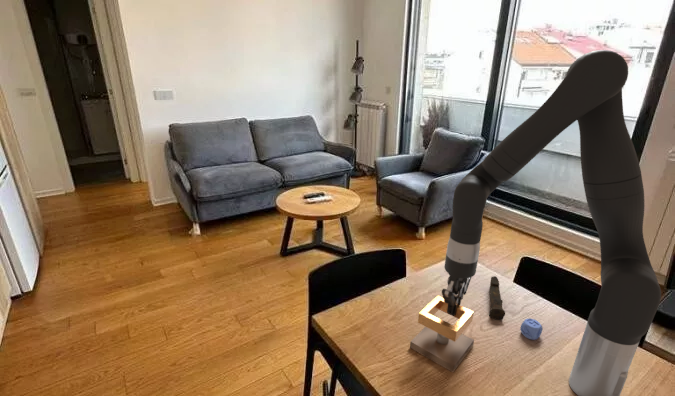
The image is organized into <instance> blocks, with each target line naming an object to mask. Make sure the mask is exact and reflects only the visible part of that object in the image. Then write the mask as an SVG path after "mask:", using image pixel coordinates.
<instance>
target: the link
mask: <svg viewBox="0 0 675 396" xmlns="http://www.w3.org/2000/svg"><path fill="white" fill-rule="evenodd" d="M447 308H448V304H447V303H445V302H444V299H443V296H440V295H437V296H436V297H435V298H433V299H432V300H431V301H430V302H429V303H427V305H426V306H424V308H423V309H421V311H420V312H419V313H418V317H417V318H418V319H417V323H418V324H420V325H422V326H424V327H427V328H429V329H431V330H433V331H435V332H437V333H439V334H441V335H443V336H445V337H446V338H448V339H450V340H452V341H454V342H455V341H456V340H457V339H458V338H459V336H460V335H461V334H463V333H464V332H465V330H466V329H468V327H469V326H470V325H471V324H472V322H473V320H474V313H475V311H474V310H471V309H469V308H466V307H464V306H462V305H461V304H460V305H457V310H456V315H455V316H452V315H450V314H448V313H447ZM439 311H441V312H444V313H445V314H448V315H450V316H451V317H453V318H456V319H458V320H457V321H456V322H455V323H454V324H451V323H450V322H448V321H445V320H443V319H441V318H439V317H436V316H435V314H436V313H437V312H439ZM447 322H448V323H447Z"/></svg>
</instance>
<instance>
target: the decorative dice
mask: <svg viewBox="0 0 675 396" xmlns="http://www.w3.org/2000/svg"><path fill="white" fill-rule="evenodd" d="M520 332H521V334H522V335H523V337H525V338H527V339H528V340H531V341H532V340H538V339H539V338H540V336H541V335H542V332H543V326H542V324H541V323H540V322H539V321H538V320H536V319H535V318H525V319H524V320H523V321H522V323H521V325H520Z"/></svg>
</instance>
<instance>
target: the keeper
mask: <svg viewBox="0 0 675 396" xmlns="http://www.w3.org/2000/svg"><path fill="white" fill-rule="evenodd" d="M446 322H447V323H449V321H446ZM474 342H475V339H474V338H472V337H470V336H467V335H466V334H463V333H462V334H461V335H460V336H459V338H458V339H457V340H456V341H455V342H454V341H452V340H450V339H448V338H446V337H445V336H443V335H441V334H439V333H437V332H435V331H433V330H431V329H429V328H427V327H425V326H424V328H422V329H421V330H420V331H419V332H418V333H417V334H416V335H415V336H414V337H413V338H412V339H411V340H410V342H409V343H410V344H409V349H411V350H413V351H415V352H417V353H419V354H421V355H422V356H423V357H426V358H427V359H428V360H430V361H432V362H434V363H436V364H437V365H439V366H441V367H443V368H444V369H446V370H448V371H449V372H452V373H454V372H455V371H456V369H457V368H458V366H459V365H460V364H461V363H462V361H463V360H464V359H465V358H466V356H467V354H469V352H470V351H471V349H472V348H473V347H474Z"/></svg>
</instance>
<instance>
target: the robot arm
mask: <svg viewBox="0 0 675 396" xmlns="http://www.w3.org/2000/svg"><path fill="white" fill-rule="evenodd" d="M628 76H629V66H628V63H627V61H626V59H625V58H624V57H623V56H622V55H621V54H620V53H617V52H615V51H613V50H608V49H607V50H606V49H598V50H592V51H589V52H587V53H584V54H583V55H581V56H579V57H578V58H577V59H576V60H574V62H572V64H570V66H569V68H568V69H567V71H566V74H565V77H564V78H563V79H562V80H561V82H560V83H559V85H558V86H557V87H556V88H555V90H554V91H553V92H552V94H551V95H550V96H549V97H548V99H547V100H545V102H543V104H542V105H541V106H540V107H538V109H537V110H536V111H534V113H533V114H531V115H530V116H529V117H528V118H527V119H525V120H524V121H523V122H522V123H521V124H519V125H518V126H517V127H516V128H515V129H514V130H513V131H512V132H510V133H509V134H508V135H507V136H506V137H505V138H503V139H502V140H501V141H500V142H499V143H498V144H497V145H496V146H495V147H494V148H493V149H492V150H491V151H490V152H489V153H488V154H487V155H486V156H485V158H484V159H483V160H482V161H481V162H480V163H479V164H477V165H475V167H474V168H472V169H471V170H470V171H469V172H468V173H467V174H466V175H465V176H463V177H462V179H461V180H460V181H459V183H458V184H457V185H456V187H455V189H454V191H453V199H452V220H451V226H450V233H449V239H448V240H447V241H448V242H447V246H446V254H445V258H444V259H445V261H444V270H445V272H447V274H448V275H449V276H448V277H447V287H446V288H442V289H441V295H442V297H443V299H444V302H445V303H447V304H448V308H447V313H448V315H449V314H450V316H451V315H452V316H451V317H454V316H455V315H456V310H457V305H460V306H461V303H462V300H464V299H463V298H464V296H465V295H466V294H467V291H468V288H469V285H470V282H471V280H472V277H474V276H475V275H476V273H477V268H478V263H479V262H478V261H479V256H480V249H481V238H482V232H483V225H484V224H483V217H484V212H485V211H484V210H485V207H486V202H487V200H488V198H489V196H490V195H491V193H493V192H494V191H495V190H496V189H497V188H498V187H499V186H500V185H502V184H503V183H504V182H507V181H509V180H510V179H512V178H513V177H514V176H515V175H517V174H518V173H519V172H520V171H521V170H522V169H523V168H525V166H527V165H528V163H530V162H531V161H532V160H534V158H535V157H536V156H538V154H540V153H541V152H542V151H543V150H544V149H545V148H546V147H547V146H548V145H550V144H551V142H552V141H553V140H554V139H555V138H557V137H558V136H559V135H560V134H561V133H563V132H564V131H565V130H566V129H567V128H568V127H570V126H571V125H573V124H574V123H575V122H576V121H577V123H578V124H577V125H578V130H579V145H580V146H579V147H580V149H579V150H580V152H579V153H580V166H581V176H582V183H583V188H584V194H585V195H584V196H585V198H586V199H585V200H586V203H587V207H588V211H589V212H590V215H591V219H592V221H593V224H594V225H595V228H596V230H597V234H598V239H599V249H600V283H601V288H600V291H599V293H598V298H597V301H596V303H595V306H594V308H592V309H591V311H590V313H589V315H588V319H587V322H586V325H585V329H584V331H583V334H582V337H581V340H580V344H579V347H578V350H577V352H576V353H577V354H576V357H575V359H574V362H573V365H572V369H571V372H570V374H569V378H568V383H569V386H570V388H571V390H572V391H573V392H574V393H575V394H576V395H577V396H621V395H622V390H623V389H624V385H625V384H626V381H627V379H628V376H629V375H628V374H629V369H630V368H631V364H632V362H633V359H634V356H635V354H636V352H637V349H638V346H639V344H640V341H641V339H642V337H643V336H645V335H646V334H647V332H648V331H649V329H650V327H651V325H652V322H653V320H654V318H655V316H656V313H657V311H658V308H659V305H660V303H661V300H662V289H661V286H660V283H659V281H658V279H657V275H656V272H655V270H654V267H653V265H652V263H651V260H650V257H649V253H648V250H647V247H646V243H645V239H644V232H643V231H644V229H643V227H644V219H645V218H644V217H645V190H644V182H643V176H642V170H641V165H640V161H639V157H638V154H637V152H636V149H635V145H634V143H633V140H632V138H631V136H630V133H629V130H628V127H627V124H626V120H625V117H624V105H623V104H624V103H623V88H624V86H625V85H626V82H627V81H628ZM447 313H446V314H447Z"/></svg>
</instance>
